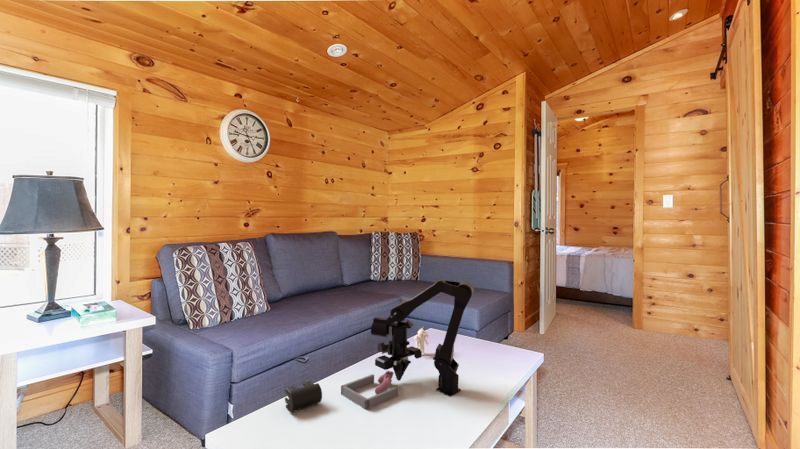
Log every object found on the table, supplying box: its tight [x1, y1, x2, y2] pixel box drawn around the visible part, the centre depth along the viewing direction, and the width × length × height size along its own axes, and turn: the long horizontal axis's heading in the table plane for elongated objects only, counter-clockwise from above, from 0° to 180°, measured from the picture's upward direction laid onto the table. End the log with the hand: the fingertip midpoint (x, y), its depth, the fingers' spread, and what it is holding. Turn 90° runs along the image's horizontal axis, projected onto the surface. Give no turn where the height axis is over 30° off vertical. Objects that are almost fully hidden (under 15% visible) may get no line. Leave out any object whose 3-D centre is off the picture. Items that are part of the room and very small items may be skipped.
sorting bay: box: [340, 374, 400, 411], centre depth 132 cm, size 14×14×3 cm
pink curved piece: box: [374, 369, 395, 395], centre depth 137 cm, size 10×5×7 cm, turn 176°
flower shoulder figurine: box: [413, 327, 429, 357], centre depth 170 cm, size 9×4×12 cm, turn 141°
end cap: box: [284, 381, 323, 413], centre depth 123 cm, size 10×7×7 cm
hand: (398, 380), depth 141 cm, fingers closed
